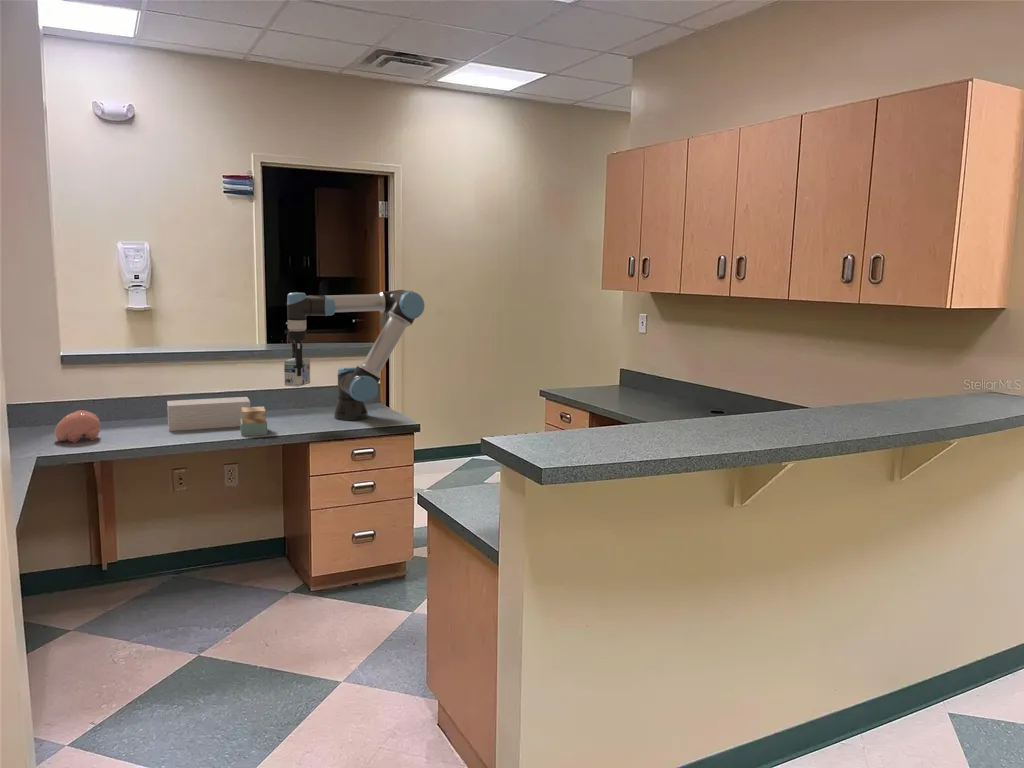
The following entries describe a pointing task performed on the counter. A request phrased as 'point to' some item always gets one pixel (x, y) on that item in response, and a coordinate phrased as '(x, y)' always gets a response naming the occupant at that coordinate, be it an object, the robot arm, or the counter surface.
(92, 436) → the brain
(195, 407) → the pale grey long block
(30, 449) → the counter surface
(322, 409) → the counter surface
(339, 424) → the counter surface
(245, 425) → the tower base slab
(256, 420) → the tower top block
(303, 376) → the light bulb box
